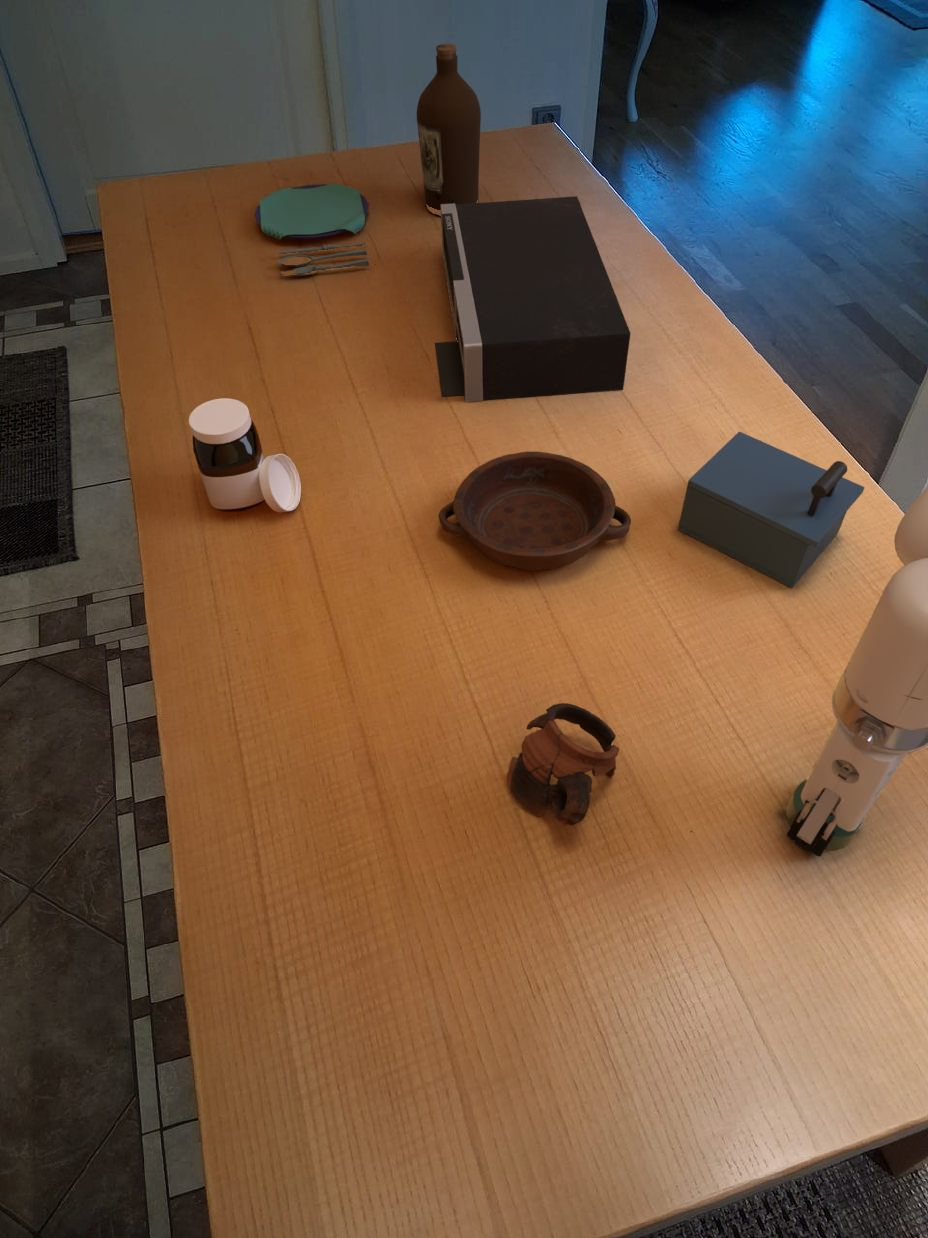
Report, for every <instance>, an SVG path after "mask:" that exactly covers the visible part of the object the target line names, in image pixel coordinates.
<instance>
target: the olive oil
mask: <svg viewBox="0 0 928 1238" xmlns="http://www.w3.org/2000/svg"><path fill="white" fill-rule="evenodd" d="M435 48H436V49H435V51H436V55H435V64H436V65H435V66H436V73H435V75H434V77H433V78H432V79H431V80H430V81H429V82H428V84H427V86H426V87H425V88H424V89H423V91H422V93H420V96H419V99H418V102H417V106H416V124H417V125H416V126H417V134H418V142H419V151H420V153H419V154H420V162H421V171H422V183H423V192H424V203H425V202H426V204H427V205H428V206H429V207H432V208H434V209H437V210H441V204H455V205H457V204H472V203H476V202H477V200H478V201H479V182H480V181H479V179H480V178H479V177H480V146H481V145H480V144H481V123H482V122H481V121H482V112H481V111H482V110H481V106H480V101H479V99H478V96H477V94H476V91H475V90H474V89H473V88H472V87H471V86H470V85H469V84H468V82H467V81H466V80H465V79H464V78H463V77H462V76H461V74H459V71H458V54H457V46H456V44H454V43H449V42H448V43H446V42H445V43H440V44H438V45H437V46H436V47H435ZM426 204H425V205H426Z"/></svg>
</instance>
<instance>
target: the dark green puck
mask: <svg viewBox="0 0 928 1238" xmlns="http://www.w3.org/2000/svg"><path fill="white" fill-rule="evenodd" d="M806 781H807V779H804V780H803V781H802V782H800V783H799V784H798V785H797V786H796V788H795V789H794V791H793V794H792V795H791V797H790V799H789V801H788V803H787V806H786V814H785V815H786V820H787V824H788V826H789V828H790V827H791V825H792V823H793V822H794V820H795V818H796V816H797V814H798V813H799V811H800V810H801V811H802V810H803V809H804V807H805V805H806V804H807V803H806V802H805V804H803V802H802V800H801V793H802V790H803V788H804V786H805V784H806ZM822 794H823V793H822ZM837 804H838V803H837ZM814 807H815V805H814V806H813V808H814ZM813 808H812V810H813ZM812 810H811V811H812ZM811 811H810V813H811ZM810 813H809V814H810ZM832 818H833V817H832V816H831V815H829V816H828V818H827V819H826V821H825V822H827V823H830V821H831V819H832ZM864 820H865V818H864V819H863V820H862V822H861V823H860V825H859V826H858V827H857V829H856V830H854V831H846V830H844V829H842V828H840V827H838V825H836V826H835V828H834V829H833V830H834V831H835V832H836V833H835V834H834V836H833V837H832V839H831V841H830V842H829V844H828V845H827V847H826V849H825V850H824V851H826V852H827V851H828V852H829V851H838V850H841V849H843V848H846V847H847V846H849V844H851V842H852V841H853V840H854V838H855V836H857V833H858V832H859V830H860V829H861V828H862V826H863V823H864ZM827 826H828V825H827Z"/></svg>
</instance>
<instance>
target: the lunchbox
mask: <svg viewBox="0 0 928 1238" xmlns="http://www.w3.org/2000/svg"><path fill="white" fill-rule="evenodd" d="M846 514H847V512H846V513H845V514H844V515H843V516H842V517H841V519H840V520H839V521H838V522H837V523H836V524H835V526H834V527H833V528H832V529H831V530H830V532H829V533H828V534H827V535H826V536H825V537H824V539H823V540H822V541H821V542H820V543H819V545H818V546H817V547H816V548H815V547H813V546H811V545H809V544H807V543H805V542H803V541H801V540H799V539H797V538H795V537H793V536H791V535H788V534H786V533H784V532H782V531H780V530H778V529H776V528H774V527H772V526H770V525H768V524H766V523H764V522H762V521H760V520H758V519H756V518H754V517H752V516H750V515H748V514H745V513H743V512H741V511H739V510H737V509H735V508H733V507H731V506H729V505H727V504H725V503H723V502H721V501H719V500H717V499H715V498H713V497H711V496H709V495H707V494H704V493H702V492H700V491H698V490H696V489H694V488H692V487H690V486H688V485H686V489H685V495H684V498H683V504H682V508H681V513H680V517H679V521H678V526H677V530H678V531H679V532H681V533H683V534H685V535H686V536H689V537H691V538H693V539H694V540H697V541H699V542H700V543H702V544H705V545H706V546H709V547H710V548H712V549H714V550H716V551H718V552H720V553H722V554H724V555H726V556H727V557H729V558H731V559H734V560H736V561H738V562H740V563H742V564H743V565H745V566H748V567H749V568H752V569H754V570H755V571H758V572H759V573H761V574H763V575H765V576H767V577H768V578H772V580H775V581H777V582H779V583H781V584H783V585H785V586H787V587H788V588H790V589H793V588H794V587H795V585H796V584H797V583H798V582H799V581H800V579H801V578H802V577H803V576H804V574H806V573H807V571H808V570H809V569H810V568H811V567H812V565H813V564H814V563H815V562H816V560H818V558H819V557H820V556H821V554H822V553H823V552H824V551H825V550H826V548H828V546H829V545H830V544H831V542H833V540H834V539H835V538H836V537H837V535H838V534H839V531H840V529H841V527H842V524H843V522H844V520H845V517H846Z"/></svg>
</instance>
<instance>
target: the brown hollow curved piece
mask: <svg viewBox="0 0 928 1238" xmlns="http://www.w3.org/2000/svg"><path fill="white" fill-rule="evenodd" d="M545 711H546V713H543V714H540V715H538V716H536V717H535V718H534V719H532V720H530V721H529V722H528V724H527V726H526V730H528V731H530V730H532V729H534V728H538V730H536V731H534V732H531V733H529V734H527V735H526V736H524V739H523V741H522V743H521V752H520V753H519V755H518V756H512V757H511V758H510V761H509V766H508V770H507V774H506V781H507V785H508V788H509V790H510V792H511V793H512V796H513V797H514V799H515V800H516V801H517V802H518V804H520V805H521V806H522V807H523V808H524V809H525V810H527V811H528V812H530V813H531V814H534V815H536V816H537V817H540V818H542V817H543V815H544V814H545V812H546V811H547V809H548V811H549V813H551V814H552V815H553V816H554V817H555V819H556V820H557V822H559V823H560V824H561V825H562V826H570V827H571V826H576V825H577V824H580V823H581V822H582V821H583V820H584V818H585V817H586V816H587V813H588V811H589V809H590V803H591V802H590V799H591V795H590V794H591V793H592V791H593V786H592V785H593V779H592V777H591V776H590V775H589V774H587V772H590V771H591V774H592V776H593V777H595V778H597V777H599V776H602V775H606V776H607V778H608V779H612V778H613V777H614V775H615V771H616V769H617V760H616V757H618V756H619V752H620V747H619V746H617V745H616V744H613V742H614V741H615V739H616V737H617V736H616V734H615V732H614V730H613V729H612V728H611V727H610V726H609V725H608V724H607V722H605V721H604V720H603V719H602V718H601V717H600V716H599V717H598V716H597V714H594V713H592V712H591V711H589V710H587V709H585V708H583V707H581V706H578V705H576V704H572V703H567V702H566V703H565V702H559V703H555V704H553V705H551V706H550V707H548V708H546V709H545ZM556 720H563V721H566V722H568V723H571V724H573V725H577V726H579V728H580V729H581V730H583V731H584V732H586V733H587V734H589V735H590V736H592V737H593V738H594V739H595V740H596V741H597V742H598V744H599V745H600V747H601V749H602V751H592V750H590V749H588V748H586V747H583V746H582V745H579V744H578V743H576V742H575V741H573V740H572V739H570V738H569V737H568V736H567V735H566V734H564V733H563V731H562V730H561V729H560V727H559V725H558V723H557V721H556ZM552 776H553V777H554V778H555V779H557V780H556V784H551V777H552Z"/></svg>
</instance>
